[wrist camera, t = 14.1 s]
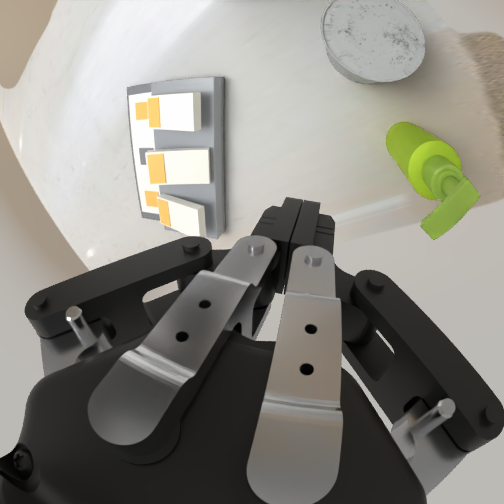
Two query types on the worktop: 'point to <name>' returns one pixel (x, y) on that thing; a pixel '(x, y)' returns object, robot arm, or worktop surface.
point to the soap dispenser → (432, 175)
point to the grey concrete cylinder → (372, 40)
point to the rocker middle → (178, 166)
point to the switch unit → (171, 139)
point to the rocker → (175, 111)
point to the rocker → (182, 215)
